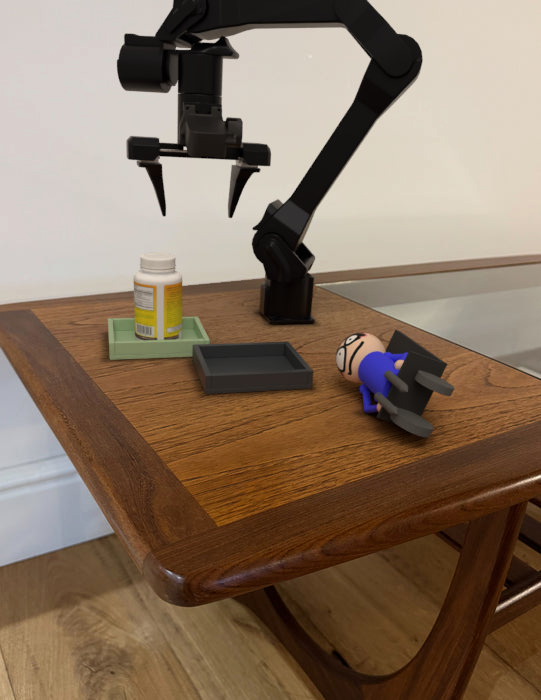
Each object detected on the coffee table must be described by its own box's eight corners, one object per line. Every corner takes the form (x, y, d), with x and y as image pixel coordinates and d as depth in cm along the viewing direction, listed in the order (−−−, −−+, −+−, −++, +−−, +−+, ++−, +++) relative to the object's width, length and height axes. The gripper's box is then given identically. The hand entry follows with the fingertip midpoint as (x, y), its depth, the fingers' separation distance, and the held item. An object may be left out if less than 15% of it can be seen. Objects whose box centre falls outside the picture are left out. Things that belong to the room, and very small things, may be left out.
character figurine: (386, 456, 52) (328, 387, 66) (464, 444, 54) (391, 379, 67) (391, 371, 49) (329, 317, 63) (472, 361, 51) (395, 310, 65)
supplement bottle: (181, 333, 77) (182, 251, 73) (182, 348, 72) (183, 261, 68) (135, 332, 76) (134, 250, 72) (133, 348, 71) (131, 260, 67)
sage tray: (197, 331, 80) (198, 316, 79) (209, 356, 71) (210, 339, 71) (108, 333, 77) (107, 318, 76) (109, 360, 68) (109, 343, 68)
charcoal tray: (287, 357, 72) (288, 341, 72) (312, 388, 64) (313, 370, 63) (192, 361, 69) (192, 344, 69) (205, 394, 61) (205, 375, 60)
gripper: (129, 87, 70) (131, 224, 76) (286, 99, 75) (277, 227, 80) (125, 90, 80) (127, 212, 86) (263, 101, 85) (257, 215, 90)
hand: (197, 216), depth 85 cm, fingers open, 9 cm apart
